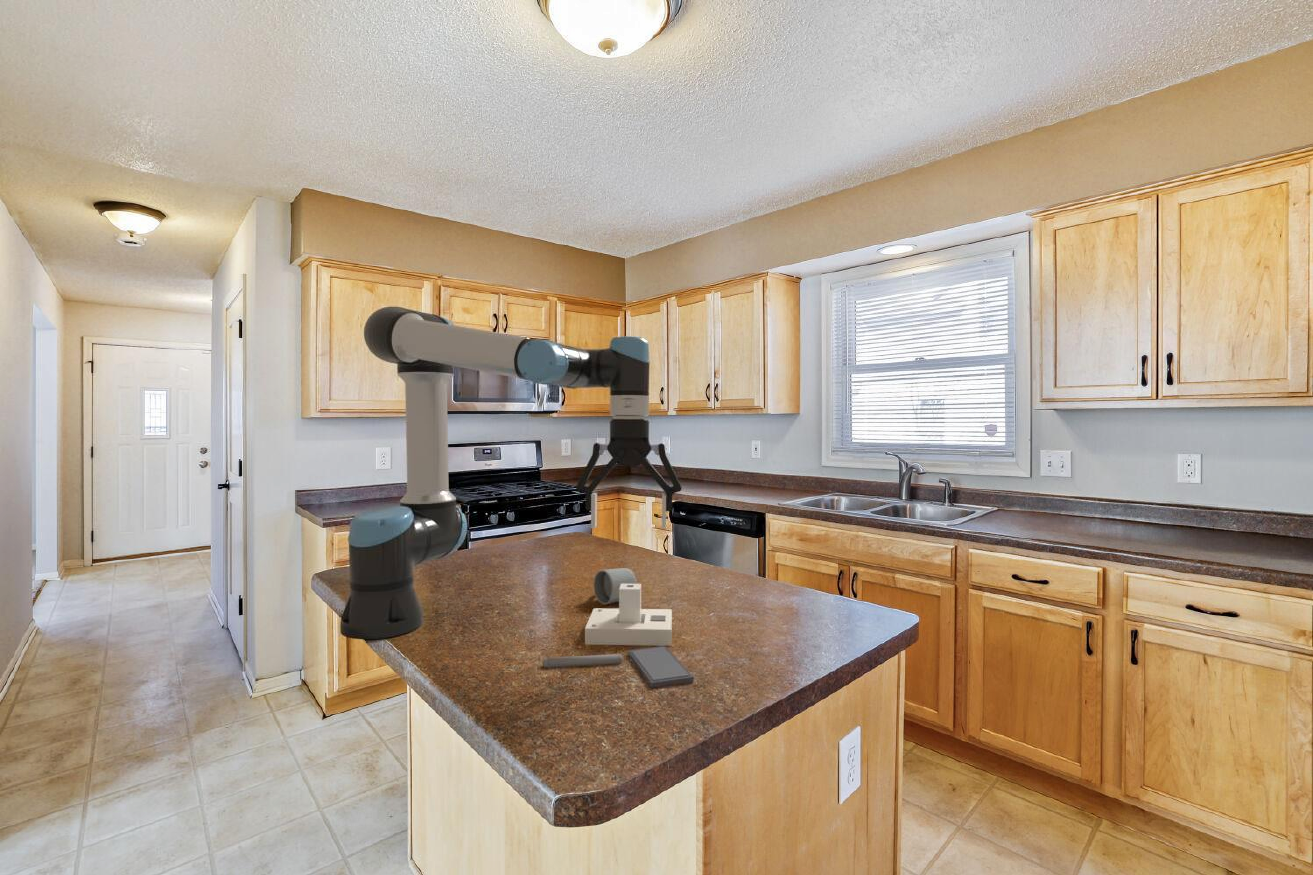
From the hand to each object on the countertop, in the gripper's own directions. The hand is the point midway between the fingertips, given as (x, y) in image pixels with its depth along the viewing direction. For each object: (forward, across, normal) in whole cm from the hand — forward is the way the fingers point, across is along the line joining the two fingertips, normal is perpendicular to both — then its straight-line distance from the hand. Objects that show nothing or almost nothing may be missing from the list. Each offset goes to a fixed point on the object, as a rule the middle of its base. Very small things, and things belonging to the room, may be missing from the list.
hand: (628, 527), depth 118 cm
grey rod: (+21, -6, -15) cm, 27 cm away
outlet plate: (+21, 0, 0) cm, 21 cm away
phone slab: (+21, +6, -16) cm, 27 cm away
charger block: (+20, 0, 0) cm, 20 cm away
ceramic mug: (+21, -6, +22) cm, 31 cm away
